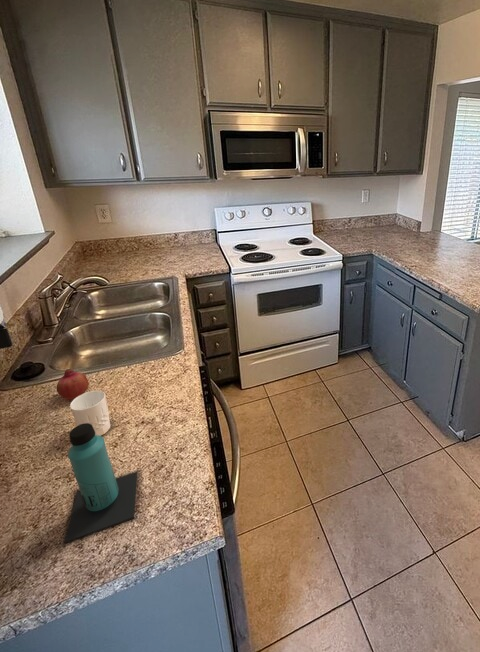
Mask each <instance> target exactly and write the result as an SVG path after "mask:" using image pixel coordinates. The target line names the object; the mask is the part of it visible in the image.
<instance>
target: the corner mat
mask: <svg viewBox="0 0 480 652" xmlns="http://www.w3.org/2000/svg"><path fill="white" fill-rule="evenodd" d="M115 478H116V481H117V483H118V489H119V490H118V491H119V492H118V495H117V498H116V499H115V500H114V501H113V503H111V504H110V505H109V506H108V507H106V508H104V509H102V510H99V511H90V510H88V509H87V508H85V506H84V505H85V503H83V502H84V500H83V499H82V498H81V497H82V495H81V492H80V489H79V490H76V493H75V499H74V502H73V506H72V509H71V514H70V519H69V523H68V526H67V530H66V534H65V539H64V544H67V543H70V542H73V541H75V540H78V539H81V538H84V537H86V536H89V535H92V534H95V533H98V532H100V531H102V530H105V529H108V528H112V527H114V526H117V525H119V524H122V523H125V522H128V521H131V520H134V519H135V513H136V511H135V510H136V498H137V497H136V495H137V484H138V471H134V472H132V473H129V474H126V475H122V476H119V477H115Z"/></svg>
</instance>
